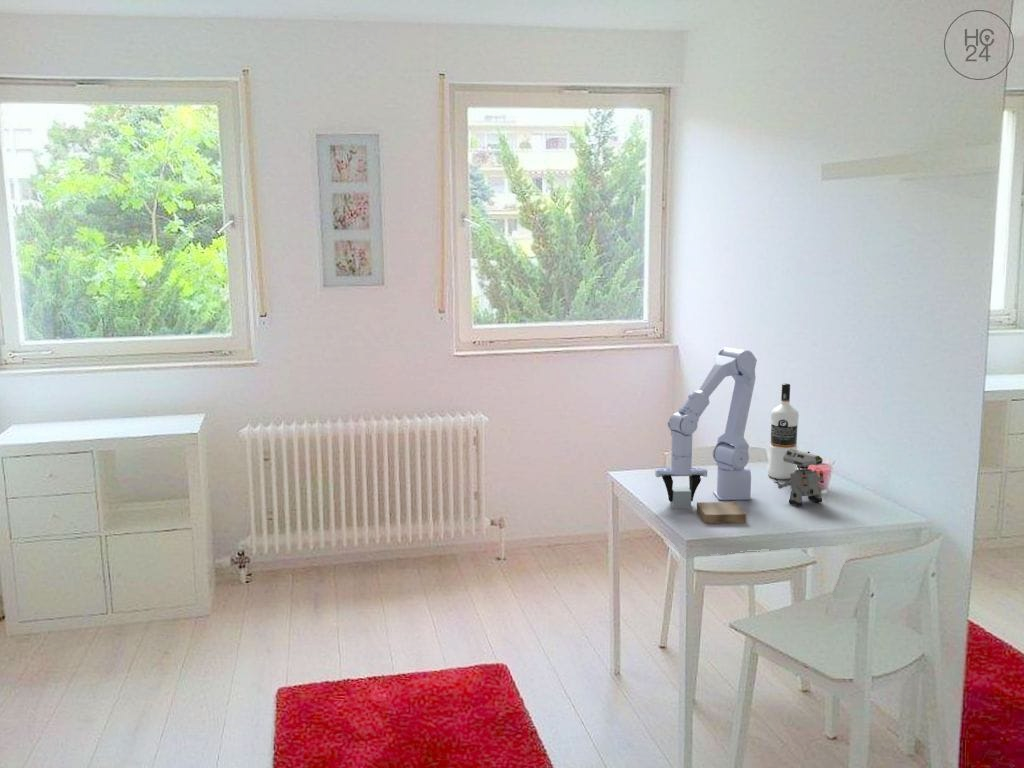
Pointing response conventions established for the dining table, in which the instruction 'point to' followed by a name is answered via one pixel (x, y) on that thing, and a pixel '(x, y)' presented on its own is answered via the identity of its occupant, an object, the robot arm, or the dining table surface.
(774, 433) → the vodka
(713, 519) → the plinth
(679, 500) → the block
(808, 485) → the figurine
